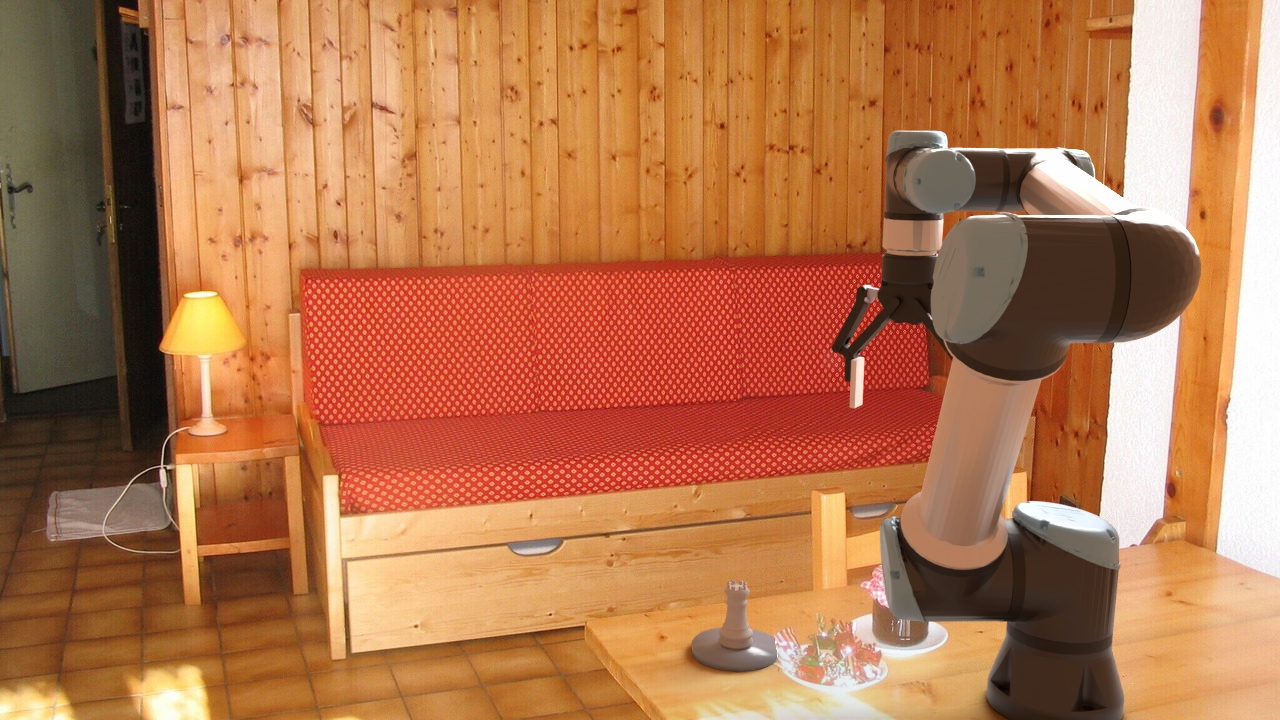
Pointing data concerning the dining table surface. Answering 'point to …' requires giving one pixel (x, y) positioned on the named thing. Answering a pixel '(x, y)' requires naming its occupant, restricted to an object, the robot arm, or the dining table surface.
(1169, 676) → the dining table surface
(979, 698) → the dining table surface
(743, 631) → the rook chess piece
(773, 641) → the glossy grey pebble
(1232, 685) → the dining table surface
